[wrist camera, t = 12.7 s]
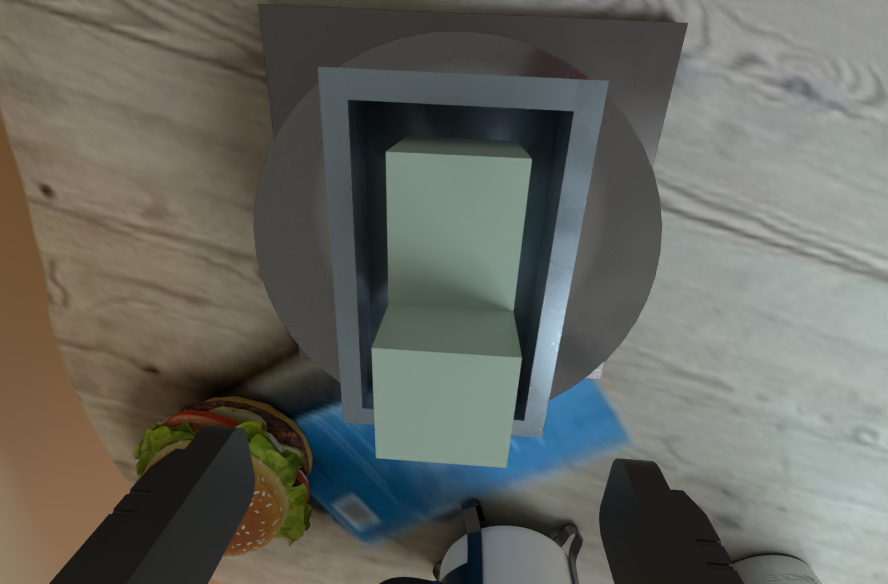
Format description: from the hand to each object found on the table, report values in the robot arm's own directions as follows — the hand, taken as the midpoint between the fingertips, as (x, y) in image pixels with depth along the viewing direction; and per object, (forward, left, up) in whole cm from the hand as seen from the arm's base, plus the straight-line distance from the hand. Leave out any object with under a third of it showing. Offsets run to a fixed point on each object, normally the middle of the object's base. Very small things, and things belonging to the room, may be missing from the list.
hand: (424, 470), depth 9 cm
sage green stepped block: (+1, 0, -12) cm, 12 cm away
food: (-22, +17, -21) cm, 35 cm away
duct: (0, 0, -20) cm, 20 cm away
